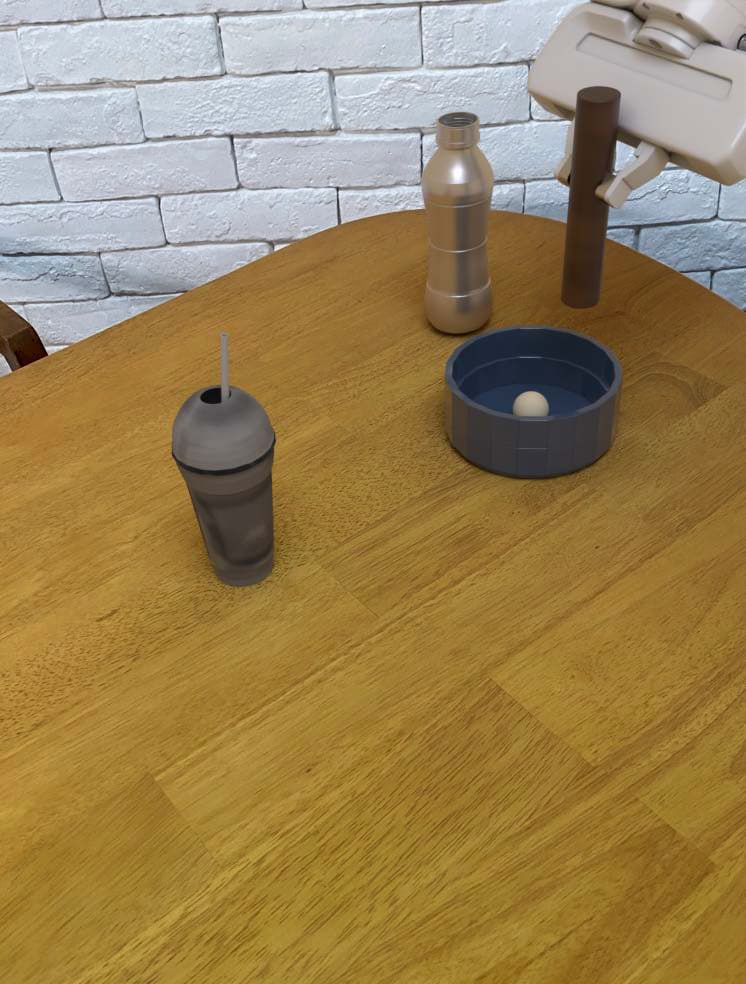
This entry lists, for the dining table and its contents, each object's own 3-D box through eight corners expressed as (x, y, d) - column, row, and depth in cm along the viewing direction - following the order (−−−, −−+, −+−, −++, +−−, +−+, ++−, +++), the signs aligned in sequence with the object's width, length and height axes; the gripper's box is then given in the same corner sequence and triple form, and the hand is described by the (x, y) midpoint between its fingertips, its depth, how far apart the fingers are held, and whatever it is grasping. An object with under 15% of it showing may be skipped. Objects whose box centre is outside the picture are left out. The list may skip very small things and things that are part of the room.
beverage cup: (202, 535, 88) (158, 309, 75) (294, 532, 88) (266, 304, 75) (189, 600, 83) (140, 368, 70) (288, 598, 82) (257, 364, 69)
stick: (591, 287, 90) (611, 83, 79) (605, 305, 88) (628, 98, 77) (555, 293, 90) (570, 88, 79) (568, 311, 87) (586, 103, 77)
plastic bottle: (506, 325, 109) (513, 119, 96) (451, 350, 106) (450, 141, 93) (464, 300, 113) (465, 99, 100) (410, 323, 110) (403, 119, 97)
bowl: (579, 372, 102) (584, 313, 98) (642, 464, 91) (650, 402, 87) (427, 398, 100) (426, 340, 97) (472, 495, 90) (473, 433, 86)
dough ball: (541, 411, 97) (542, 381, 95) (552, 431, 95) (554, 401, 93) (507, 417, 96) (508, 387, 94) (518, 437, 94) (519, 407, 92)
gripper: (835, 84, 75) (709, 263, 78) (617, 15, 89) (515, 170, 91) (805, 29, 71) (672, 221, 73) (579, -34, 84) (473, 130, 87)
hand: (584, 192), depth 82 cm, fingers closed on stick, 3 cm apart
